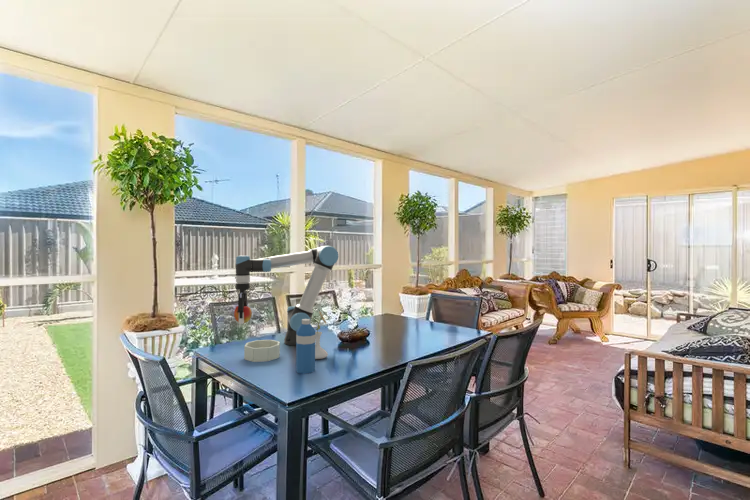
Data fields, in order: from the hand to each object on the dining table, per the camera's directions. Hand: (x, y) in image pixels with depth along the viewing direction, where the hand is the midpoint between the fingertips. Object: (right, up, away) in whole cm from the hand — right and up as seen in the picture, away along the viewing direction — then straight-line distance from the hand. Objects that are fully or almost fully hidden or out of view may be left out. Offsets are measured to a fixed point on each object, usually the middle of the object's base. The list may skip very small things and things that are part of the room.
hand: (242, 322), depth 215 cm
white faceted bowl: (+14, -17, -8) cm, 24 cm away
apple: (0, -1, 0) cm, 1 cm away
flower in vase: (+44, -18, -8) cm, 48 cm away
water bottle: (+41, -18, -30) cm, 54 cm away
